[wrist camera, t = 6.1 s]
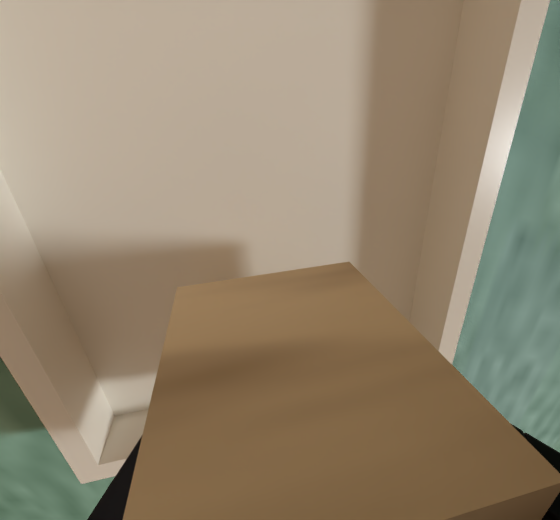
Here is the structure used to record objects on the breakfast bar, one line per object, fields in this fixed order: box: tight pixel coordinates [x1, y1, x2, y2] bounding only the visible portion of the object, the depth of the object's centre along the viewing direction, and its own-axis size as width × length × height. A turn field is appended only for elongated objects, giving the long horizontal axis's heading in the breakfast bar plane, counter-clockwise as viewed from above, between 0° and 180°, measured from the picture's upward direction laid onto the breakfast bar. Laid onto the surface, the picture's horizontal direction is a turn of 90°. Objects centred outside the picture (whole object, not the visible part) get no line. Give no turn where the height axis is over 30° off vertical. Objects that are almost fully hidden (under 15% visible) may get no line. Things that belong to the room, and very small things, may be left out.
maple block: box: [123, 262, 560, 520], centre depth 7 cm, size 5×5×6 cm
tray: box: [0, 0, 550, 484], centre depth 9 cm, size 15×18×2 cm
